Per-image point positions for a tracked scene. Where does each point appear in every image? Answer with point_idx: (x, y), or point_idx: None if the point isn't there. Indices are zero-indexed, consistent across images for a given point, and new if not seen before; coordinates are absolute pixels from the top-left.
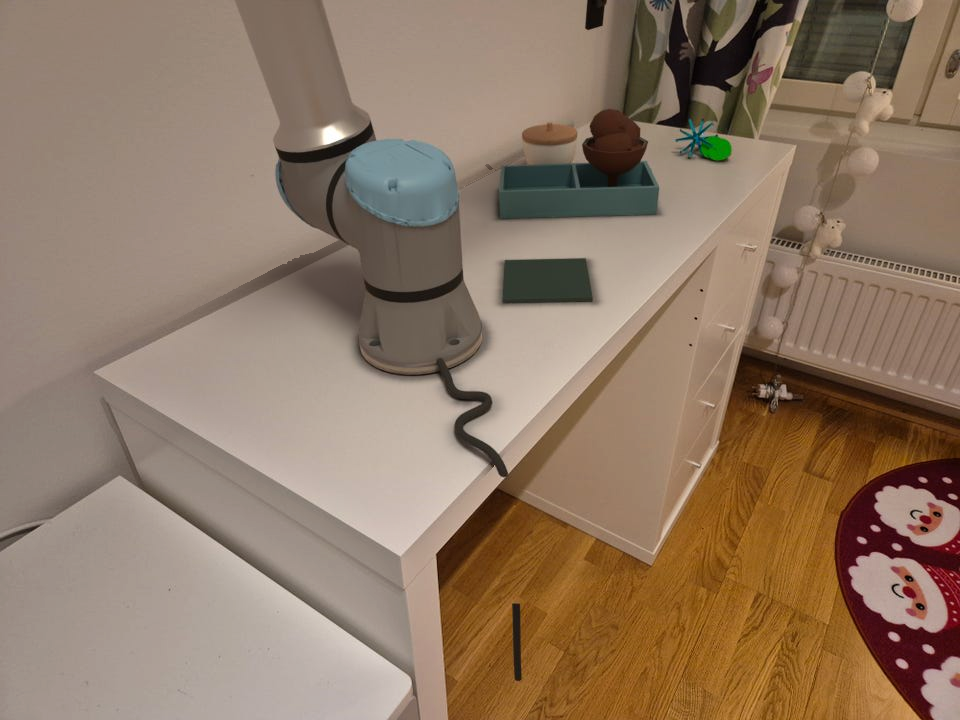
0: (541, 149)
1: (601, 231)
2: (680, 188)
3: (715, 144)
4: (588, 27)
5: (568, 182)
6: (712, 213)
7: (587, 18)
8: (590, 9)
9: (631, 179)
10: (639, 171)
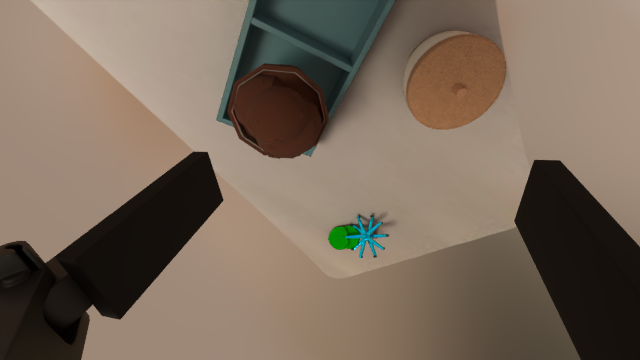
0: (424, 48)
1: (193, 13)
2: (287, 166)
3: (345, 240)
4: (188, 156)
5: (351, 55)
6: (210, 153)
7: (178, 169)
8: (148, 189)
9: None
10: None
